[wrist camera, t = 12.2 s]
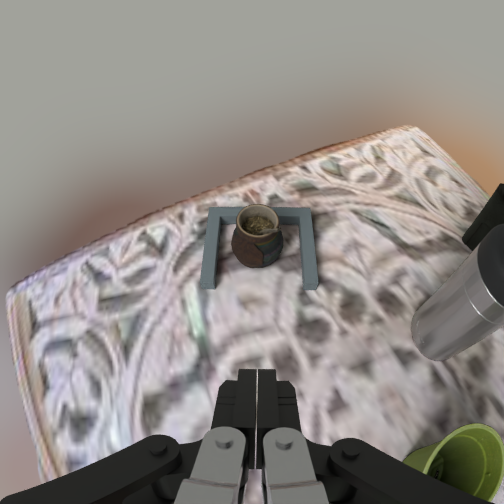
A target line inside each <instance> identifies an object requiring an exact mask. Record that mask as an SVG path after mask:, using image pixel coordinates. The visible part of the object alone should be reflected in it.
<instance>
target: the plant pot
mask: <svg viewBox="0 0 504 504" xmlns="http://www.w3.org/2000/svg"><path fill="white" fill-rule="evenodd" d="M402 463H404V464H406V465H408V466H410V467H412V468H414V469H416V470H418V471H420V472H422V473H424V474H426V475H428V476H431V477H433V478H434V477H435V474H436V473H437V471H438V470H439V472H438V476H437V478H436V479H437V480H439V481H441V482H443V483H446V484H448V485H450V486H452V487H455V488H457V489H459V490H461V491H464V492H466V493H469V494H471V495H473V496H476V497H478V498H481V499H483V500H486V501H489V502H491V501H492V499H493V498H494V496H495V495H496V493H497V491H498V489H499V487H500V484H501V482H502V479H503V476H504V444H503V442H502V439H501V438H500V436H499V434H498V433H497V432H496V431H495V430H494V429H493V428H491V427H489V426H488V425H485V424H480V423H474V424H468V425H465V426H462V427H460V428H458V429H456V430H454V431H453V432H451V433H450V434H449V435H447V436H446V437H445V438H444V439H443V440H442V441H440V442H438V443H435V444H432V445H429V446H427V447H424V448H421V449H418V450H416V451H414V452H413V453H411V454H410V455H409V456H407V457H406V458H405V459H404V461H403V462H402Z"/></svg>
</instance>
